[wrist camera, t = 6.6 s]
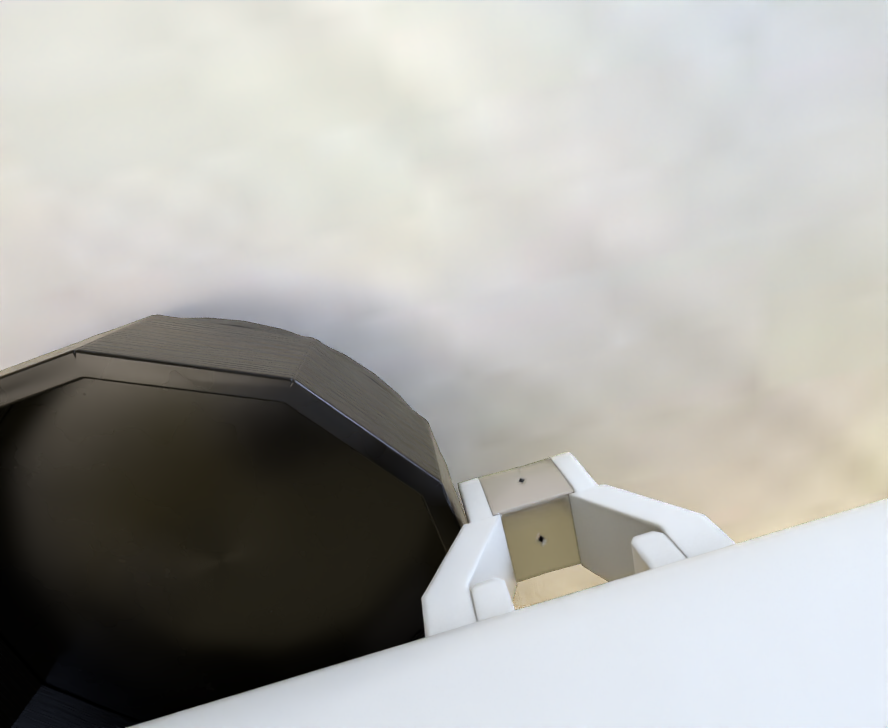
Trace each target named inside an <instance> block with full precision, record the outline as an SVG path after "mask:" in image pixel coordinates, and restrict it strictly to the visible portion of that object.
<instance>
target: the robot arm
mask: <svg viewBox="0 0 888 728" xmlns="http://www.w3.org/2000/svg"><path fill="white" fill-rule="evenodd" d="M458 488H459V492H460V495H461V499H462V503H463V507H464V510H465V514H466V518H467V522H468V524H464V525H463V526H462V528H461V530H460V531H459V533H458V535H457V537H456V538H455V540H454V542H453V544H452V545H451V547H450V549H449V551H448V552H447V554H446V556H445V558H444V559H443V561H442V563H441V565H440V566H439V568H438V570H437V572H436V573H435V575H434V577H433V578H432V580H431V582H430V584H429V585H428V587H427V589H426V591H425V592H424V594H423V596H422V598H421V600H422V610H423V620H424V629H425V638H422V639H418V640H415V641H412V642H408V643H405V644H402V645H398V646H395V647H392V648H388V649H385V650H382V651H379V652H375V653H372V654H369V655H365V656H362V657H359V658H355V659H352V660H349V661H345V662H342V663H339V664H335V665H332V666H329V667H325V668H322V669H319V670H316V671H312V672H309V673H306V674H302V675H299V676H296V677H292V678H289V679H286V680H282V681H279V682H276V683H272V684H269V685H266V686H262V687H259V688H256V689H253V690H249V691H246V692H243V693H239V694H236V695H233V696H229V697H226V698H223V699H219V700H216V701H213V702H209V703H206V704H203V705H200V706H196V707H193V708H190V709H186V710H183V711H180V712H176V713H173V714H170V715H166V716H163V717H160V718H157V719H153V720H150V721H147V722H143V723H140V724H137V725H133V726H130V727H127V728H888V498H886V499H882V500H879V501H876V502H872V503H869V504H866V505H862V506H859V507H856V508H853V509H849V510H846V511H843V512H839V513H836V514H833V515H829V516H826V517H823V518H819V519H816V520H813V521H809V522H806V523H803V524H799V525H796V526H793V527H789V528H786V529H783V530H780V531H776V532H773V533H770V534H766V535H763V536H760V537H756V538H753V539H750V540H746V541H743V542H740V543H735V542H734V541H733V540H732V539H731V538H729V537H728V536H727V535H726V534H725V533H724V532H723V531H722V530H721V529H720V528H718V527H717V526H716V525H715V524H714V523H713V522H712V521H711V520H710V519H709V518H707V517H706V516H705V515H704V514H701V513H697V512H694V511H691V510H688V509H684V508H681V507H678V506H675V505H671V504H668V503H665V502H662V501H658V500H655V499H652V498H649V497H645V496H642V495H639V494H635V493H632V492H629V491H626V490H622V489H619V488H616V487H613V486H609V485H606V484H602V485H599V486H598V484H597V483H596V482H595V481H594V480H593V478H592V477H591V476H590V475H589V474H588V472H587V471H586V470H585V469H584V468H583V466H582V465H581V464H580V463H579V462H578V460H577V459H576V458H575V457H574V456H573V454H572V453H571V452H565V453H562V454H559V455H556V456H553V457H549V458H547V459H544V460H540V461H537V462H534V463H531V464H528V465H524V466H521V467H516V468H512V469H509V470H505V471H501V472H497V473H493V474H490V475H486V476H482V477H478V478H474V479H471V480H467V481H464V482H461V483H458ZM577 564H581V565H582V566H584V567H585V568H587V569H589V570H590V571H592V572H593V573H595V574H597V575H598V576H600V577H601V578H603V579H605V580H606V581H608V582H607V583H604V584H601V585H597V586H594V587H591V588H587V589H584V590H581V591H577V592H574V593H571V594H568V595H564V596H561V597H558V598H554V599H551V600H548V601H544V602H541V603H538V604H534V605H531V606H528V607H524V608H521V609H518V610H515V608H514V605H513V603H512V602H513V598H514V594H515V590H516V587H517V582H520V581H523V580H526V579H529V578H532V577H535V576H538V575H541V574H544V573H547V572H551V571H555V570H559V569H562V568H566V567H570V566H574V565H577Z"/></svg>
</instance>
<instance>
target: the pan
mask: <svg viewBox="0 0 888 728" xmlns="http://www.w3.org/2000/svg"><path fill="white" fill-rule="evenodd" d="M464 524H468V522H467V519H466V517H465V514H464V512H463V509H462V506H461V504H460V501H459V499H458V496H457V494H456V491H455V489H454V486H453V484H452V481H451V478H450V475H449V471H448V468H447V465H446V463H445V461H444V459H443V457H442V455H441V453H440V450H439V448H438V446H437V443H436V441H435V438H434V436H433V433H432V431H431V428H430V425H429V423H428V422H427V421H426V419H424V418H423V417H421V416H420V415H419V414H417V413H416V412H415V411H413V410H412V409H411V408H410V407H409V405H408V404H407V403H406V402H405V401H404V400H403V399H402V398H401V397H400V395H399V394H397V393H396V392H395V391H394V390H393V389H392V388H390V387H389V386H388V385H387V384H386V383H385V382H383V381H382V380H381V379H380V378H379V377H377V376H376V375H375V374H374V373H372V372H371V371H369V370H368V369H366V368H365V367H363V366H362V365H360V364H358V363H357V362H355V361H354V360H352V359H351V358H349V357H348V356H346V355H344V354H342V353H340V352H338V351H336V350H334V349H332V348H329V347H327V346H325V345H324V344H322V343H321V342H320V341H318V340H317V339H314V338H311V337H304V336H300V335H297V334H295V333H292V332H289V331H286V330H283V329H279V328H275V327H270V326H265V325H261V324H256V323H251V322H246V321H238V320H227V319H216V318H176V317H169V316H163V315H152V316H149V317H146V318H143V319H141V320H138V321H135V322H132V323H130V324H127V325H124V326H122V327H119V328H116V329H113V330H111V331H108V332H105V333H102V334H98V335H95V336H93V337H90V338H88V339H85V340H83V341H81V342H78V343H75V344H72V345H70V346H67V347H64V348H61V349H59V350H56V351H53V352H50V353H48V354H45V355H42V356H40V357H37V358H34V359H31V360H29V361H26V362H23V363H20V364H18V365H15V366H12V367H9V368H7V369H4V370H2V371H0V728H127V727H130V726H133V725H137V724H140V723H143V722H147V721H150V720H153V719H157V718H160V717H163V716H166V715H170V714H173V713H176V712H180V711H183V710H186V709H190V708H193V707H196V706H200V705H203V704H206V703H209V702H213V701H216V700H219V699H223V698H226V697H229V696H233V695H236V694H239V693H243V692H246V691H249V690H253V689H256V688H259V687H262V686H266V685H269V684H272V683H276V682H279V681H282V680H286V679H289V678H292V677H296V676H299V675H302V674H306V673H309V672H312V671H316V670H319V669H322V668H325V667H329V666H332V665H335V664H339V663H342V662H345V661H349V660H352V659H355V658H359V657H362V656H365V655H369V654H372V653H375V652H379V651H382V650H385V649H388V648H392V647H395V646H398V645H402V644H405V643H408V642H412V641H415V640H418V639H422V638H425V629H424V620H423V610H422V600H421V598H422V596H423V594H424V592H425V591H426V589H427V587H428V585H429V584H430V582H431V580H432V578H433V577H434V575H435V573H436V572H437V570H438V568H439V566H440V565H441V563H442V561H443V559H444V558H445V556H446V554H447V552H448V551H449V549H450V547H451V545H452V544H453V542H454V540H455V538H456V537H457V535H458V533H459V531H460V530H461V528H462V526H463V525H464Z"/></svg>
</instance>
